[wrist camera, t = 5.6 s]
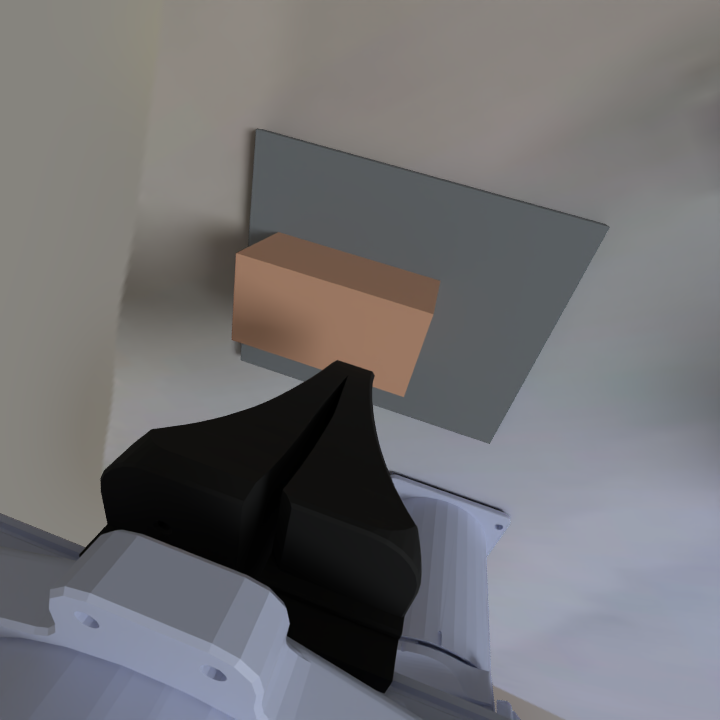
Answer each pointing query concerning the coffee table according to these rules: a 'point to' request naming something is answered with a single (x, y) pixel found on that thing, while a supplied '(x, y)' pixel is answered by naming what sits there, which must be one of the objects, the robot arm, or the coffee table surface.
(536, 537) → the coffee table surface
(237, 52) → the coffee table surface
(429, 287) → the tall block
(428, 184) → the mat
